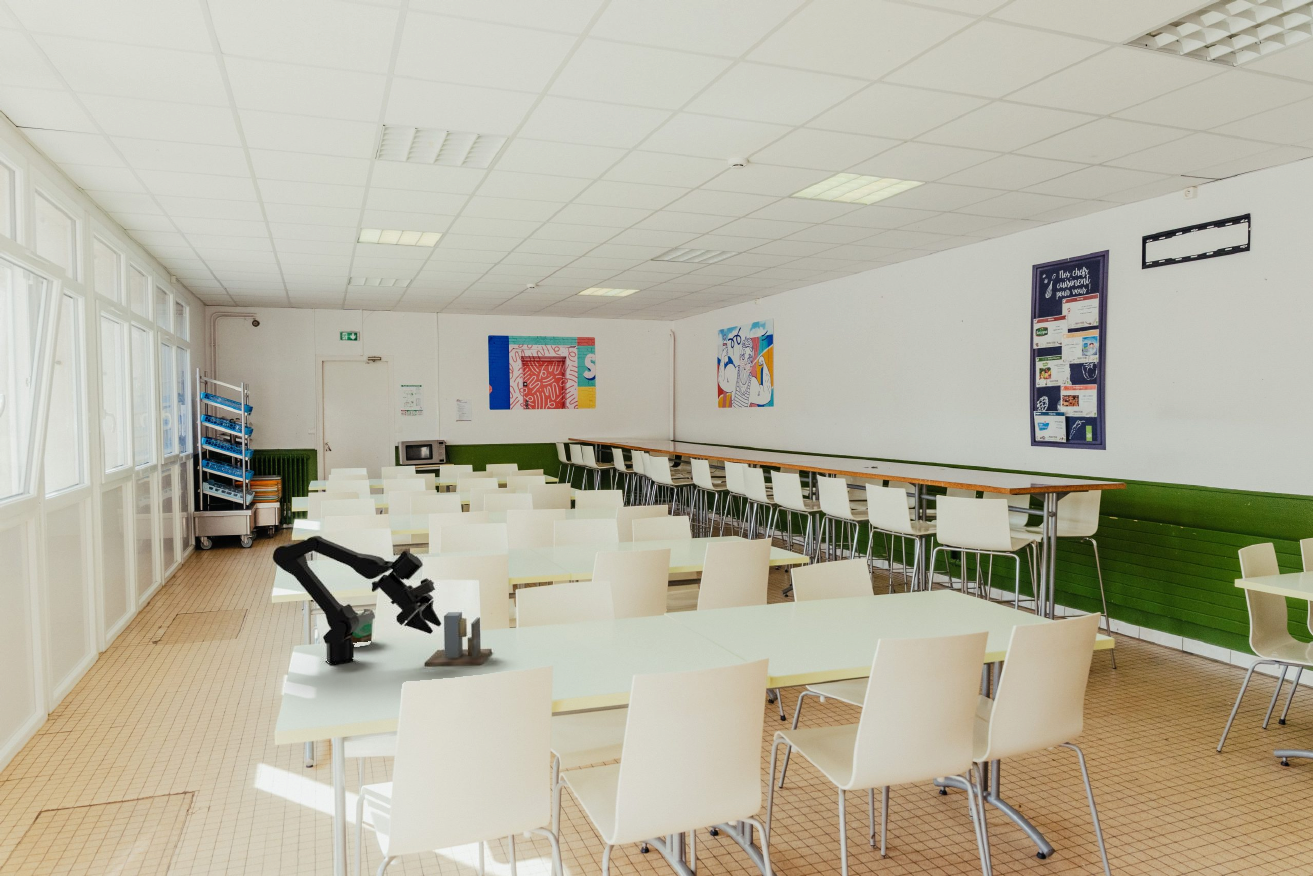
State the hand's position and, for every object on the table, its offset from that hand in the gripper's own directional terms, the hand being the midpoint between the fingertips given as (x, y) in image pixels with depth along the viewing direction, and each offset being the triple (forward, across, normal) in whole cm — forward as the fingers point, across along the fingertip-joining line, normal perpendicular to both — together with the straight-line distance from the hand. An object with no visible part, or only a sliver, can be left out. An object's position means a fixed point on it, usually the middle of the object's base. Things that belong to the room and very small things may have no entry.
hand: (436, 629), depth 236 cm
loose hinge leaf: (+9, 0, +2) cm, 9 cm away
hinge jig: (+11, 0, +2) cm, 11 cm away
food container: (-13, +20, +26) cm, 36 cm away
